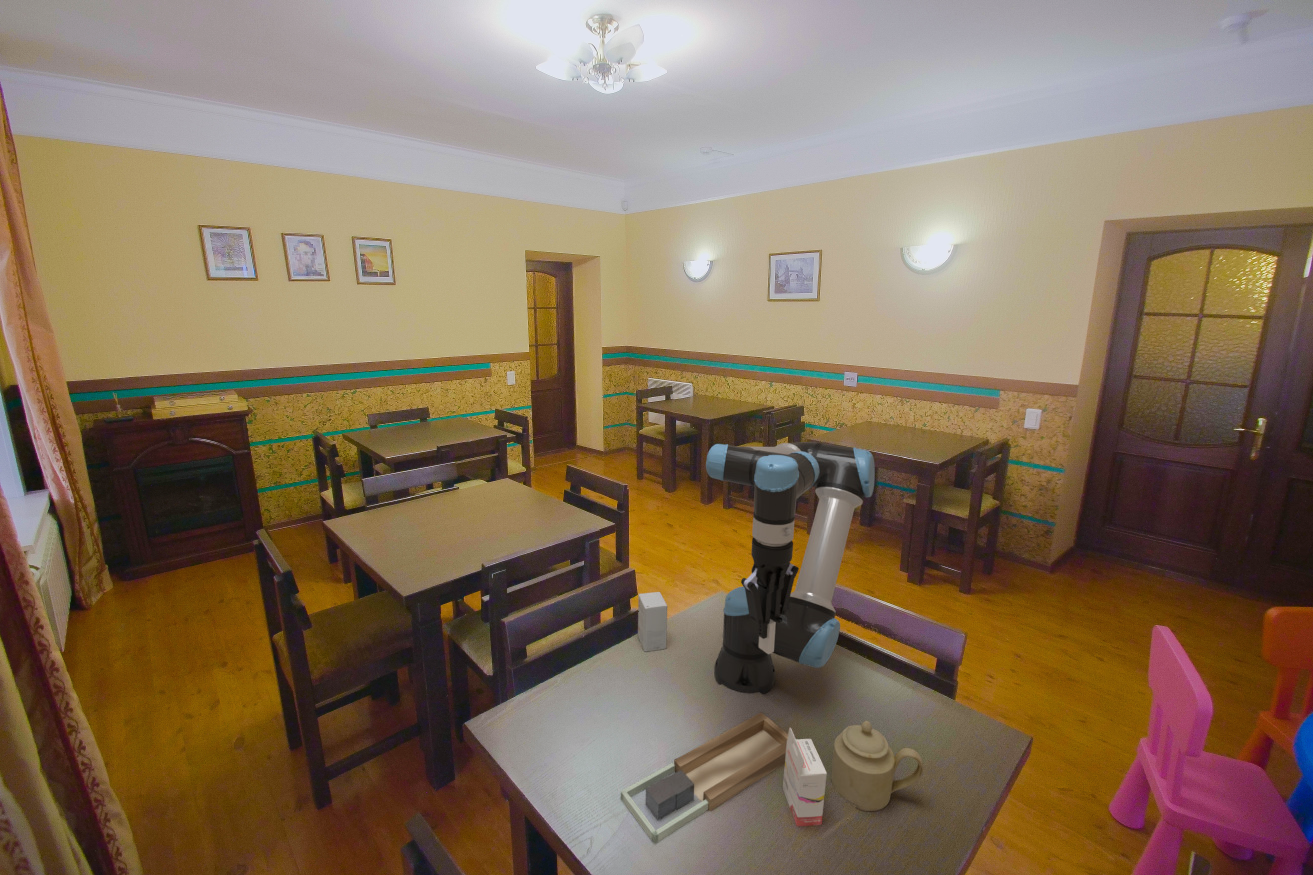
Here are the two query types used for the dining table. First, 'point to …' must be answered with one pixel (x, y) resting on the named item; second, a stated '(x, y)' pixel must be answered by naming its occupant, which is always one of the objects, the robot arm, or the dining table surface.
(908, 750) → the sugar bowl
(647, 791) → the chip
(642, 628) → the small box
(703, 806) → the tray
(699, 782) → the slot board
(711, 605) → the dining table surface
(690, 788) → the chip
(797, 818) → the ink cartridge box
